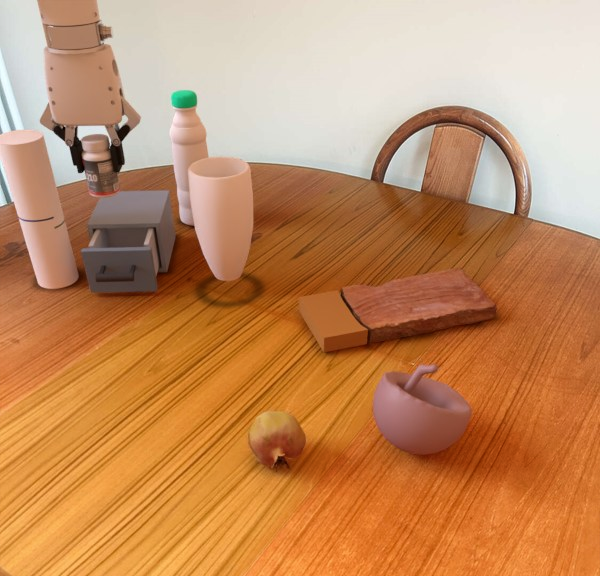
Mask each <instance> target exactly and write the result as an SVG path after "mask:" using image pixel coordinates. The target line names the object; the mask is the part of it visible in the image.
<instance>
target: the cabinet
mask: <svg viewBox="0 0 600 576" xmlns="http://www.w3.org/2000/svg"><path fill="white" fill-rule="evenodd" d="M173 214H174V213H173V206H172V200H171V193H170V190H169V189H166V190H164V189H163V190H162V189H161V190H120V191H119V193H118V194H117V195H115V196H111V197H106V198H98V201H97V203H96V205H95V207H94V208H93V211H92V213H91V215H90V217H89V219H88V221H87V223H86V229H87V233H88V236H89V241H91V239H92V237H93V235H94V233H95V231H96V229H100V228H146V227H156V232H157V239H158V245H159V251H160V258H161V261H160V264H159V268H158V272H157V273H167V272H168V269H169V265H170V261H171V258H172V253H173V249H174V245H175V242H176V237H177V236H176V230H175V221H174V215H173Z"/></svg>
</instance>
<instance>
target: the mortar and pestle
mask: <svg viewBox="0 0 600 576" xmlns="http://www.w3.org/2000/svg"><path fill="white" fill-rule="evenodd" d="M438 371H439V365H438V364H429V365H427V364H425V363H421V364H419V365H418V366H416V369H415V370H414V372H412V374H411V373H408V372H402V371H396V370H390V371H386V372H385V373H383V375H382V376H381V378H380V379H379V382H378V383H377V385H376V387H375V391H374V394H373V399H372V413H373V418H374V421H375V424H376V427H377V429H378V430H379V432H380V434H381V435H382V436H383V437H384V438H385V440H387V442H389V444H391V445H392V446H394V447H395V448H396V449H398V450H400V451H402V452H405V453H409V454H412V455H418V456H419V455H421V456H422V455H423V456H424V455H425V456H427V455H433V454H437V453H439V452H442V451H444V450H446V449H449V448H450V447H451V446H452V445H454V444H455V443H456V442H457V441H458V440H459V439H460V438H461V437H462V436H463V434H464V433H465V431H466V430H467V428H468V426H469V423H470V420H471V418H472V407H471V405H470V404H469V402H468V401H467V400H466V398H465V397H464V396H463V395H462V394H460V393H459V392H458V390H455V388H453V387H451V386H450V385H448V384H447V383H444V382H442V381H438V380H436V379H433V378H430V377H426V376H425V375H428V374H436V373H437V372H438Z"/></svg>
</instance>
